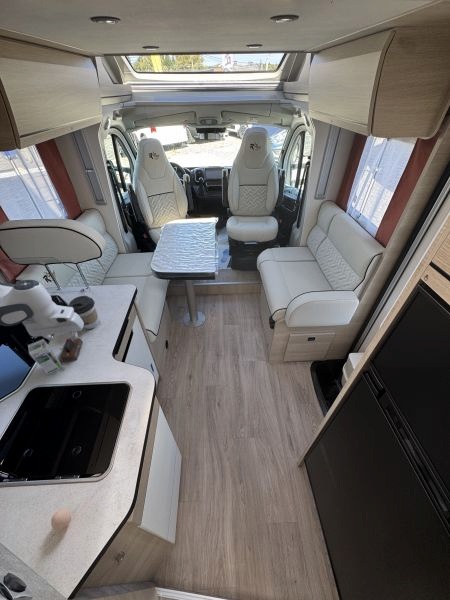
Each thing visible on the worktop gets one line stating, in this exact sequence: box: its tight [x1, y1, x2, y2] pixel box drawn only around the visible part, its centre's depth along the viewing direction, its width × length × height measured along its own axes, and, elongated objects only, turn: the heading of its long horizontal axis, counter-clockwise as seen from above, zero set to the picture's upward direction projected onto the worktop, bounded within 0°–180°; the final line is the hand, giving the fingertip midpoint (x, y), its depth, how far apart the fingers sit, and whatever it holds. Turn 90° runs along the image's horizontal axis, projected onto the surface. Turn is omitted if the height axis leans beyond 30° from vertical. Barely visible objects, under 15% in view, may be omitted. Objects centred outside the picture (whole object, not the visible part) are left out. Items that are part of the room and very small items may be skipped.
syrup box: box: [27, 338, 63, 376], centre depth 104 cm, size 6×6×14 cm
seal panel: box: [59, 337, 84, 363], centre depth 114 cm, size 10×9×3 cm
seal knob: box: [62, 337, 74, 352], centre depth 111 cm, size 5×2×4 cm, turn 9°
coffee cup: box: [68, 295, 100, 330], centre depth 122 cm, size 11×11×15 cm
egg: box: [50, 508, 72, 531], centre depth 69 cm, size 4×4×6 cm
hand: (64, 338), depth 108 cm, fingers open, 8 cm apart
